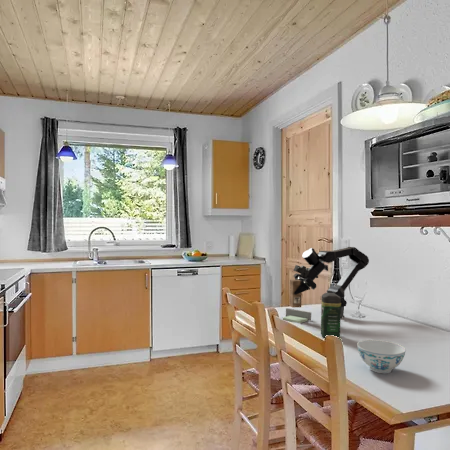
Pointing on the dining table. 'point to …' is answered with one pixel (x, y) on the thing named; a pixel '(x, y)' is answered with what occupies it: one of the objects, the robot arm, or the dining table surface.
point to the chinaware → (381, 354)
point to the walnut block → (294, 299)
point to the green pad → (295, 319)
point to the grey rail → (298, 313)
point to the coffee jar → (330, 314)
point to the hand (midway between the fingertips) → (292, 293)
